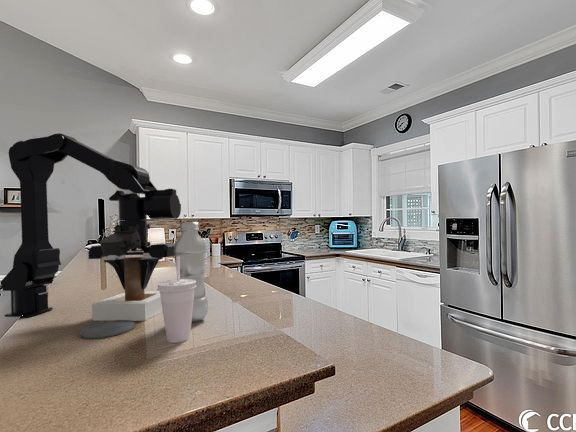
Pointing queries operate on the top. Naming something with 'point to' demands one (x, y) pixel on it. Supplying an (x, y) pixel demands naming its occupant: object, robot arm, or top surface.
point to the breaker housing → (127, 308)
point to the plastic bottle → (193, 265)
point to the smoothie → (177, 306)
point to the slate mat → (107, 329)
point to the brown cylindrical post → (133, 279)
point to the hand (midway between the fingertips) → (134, 289)
